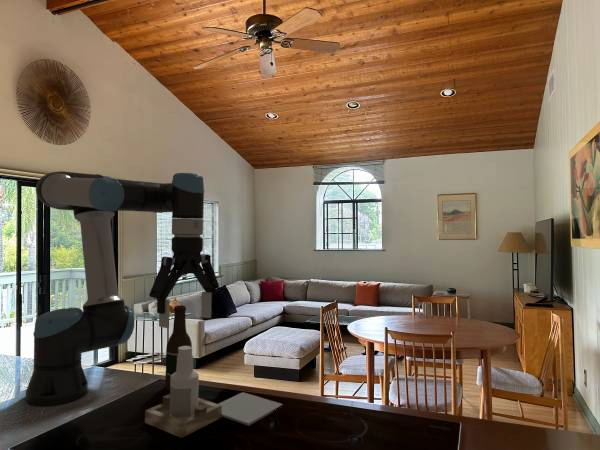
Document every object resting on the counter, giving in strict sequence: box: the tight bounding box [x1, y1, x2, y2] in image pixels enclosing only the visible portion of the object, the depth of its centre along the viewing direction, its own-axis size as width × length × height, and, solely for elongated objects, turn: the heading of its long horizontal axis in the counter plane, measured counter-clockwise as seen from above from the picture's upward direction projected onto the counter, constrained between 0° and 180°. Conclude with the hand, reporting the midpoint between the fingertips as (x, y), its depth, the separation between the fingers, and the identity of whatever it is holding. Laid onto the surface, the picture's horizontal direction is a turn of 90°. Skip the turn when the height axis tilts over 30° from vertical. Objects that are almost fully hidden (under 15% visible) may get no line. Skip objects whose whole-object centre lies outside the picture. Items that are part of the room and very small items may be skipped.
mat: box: [217, 391, 283, 426], centre depth 116 cm, size 14×14×1 cm
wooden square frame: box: [144, 393, 223, 439], centre depth 109 cm, size 14×13×4 cm
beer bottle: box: [164, 305, 193, 391], centre depth 130 cm, size 8×8×24 cm
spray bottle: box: [169, 346, 200, 421], centre depth 109 cm, size 7×7×18 cm
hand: (186, 322), depth 108 cm, fingers open, 13 cm apart
